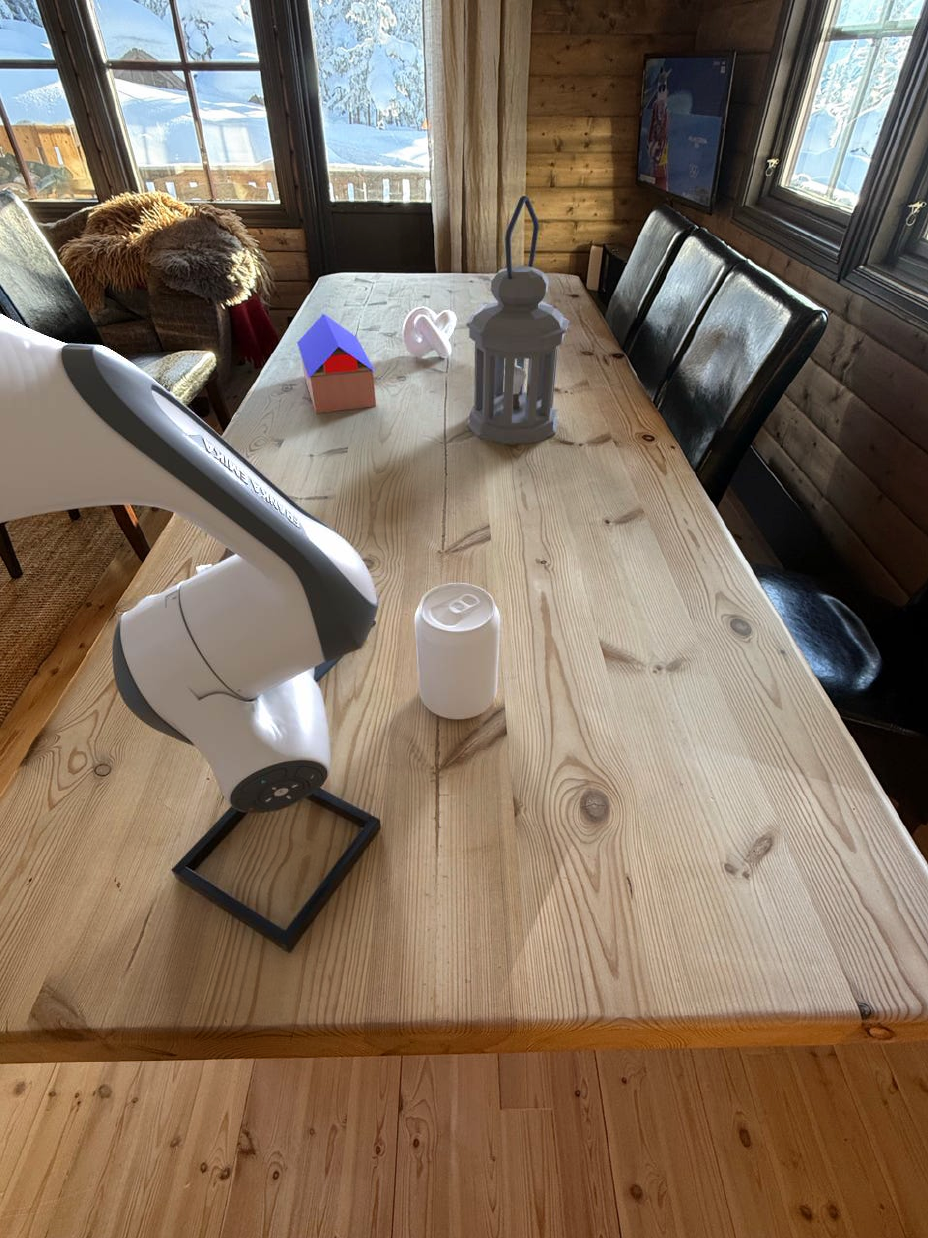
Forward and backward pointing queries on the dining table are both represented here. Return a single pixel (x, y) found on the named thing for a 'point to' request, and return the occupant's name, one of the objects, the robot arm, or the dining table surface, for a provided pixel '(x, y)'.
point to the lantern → (516, 352)
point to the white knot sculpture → (428, 332)
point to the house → (336, 368)
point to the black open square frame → (316, 901)
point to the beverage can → (457, 650)
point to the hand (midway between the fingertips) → (245, 563)
